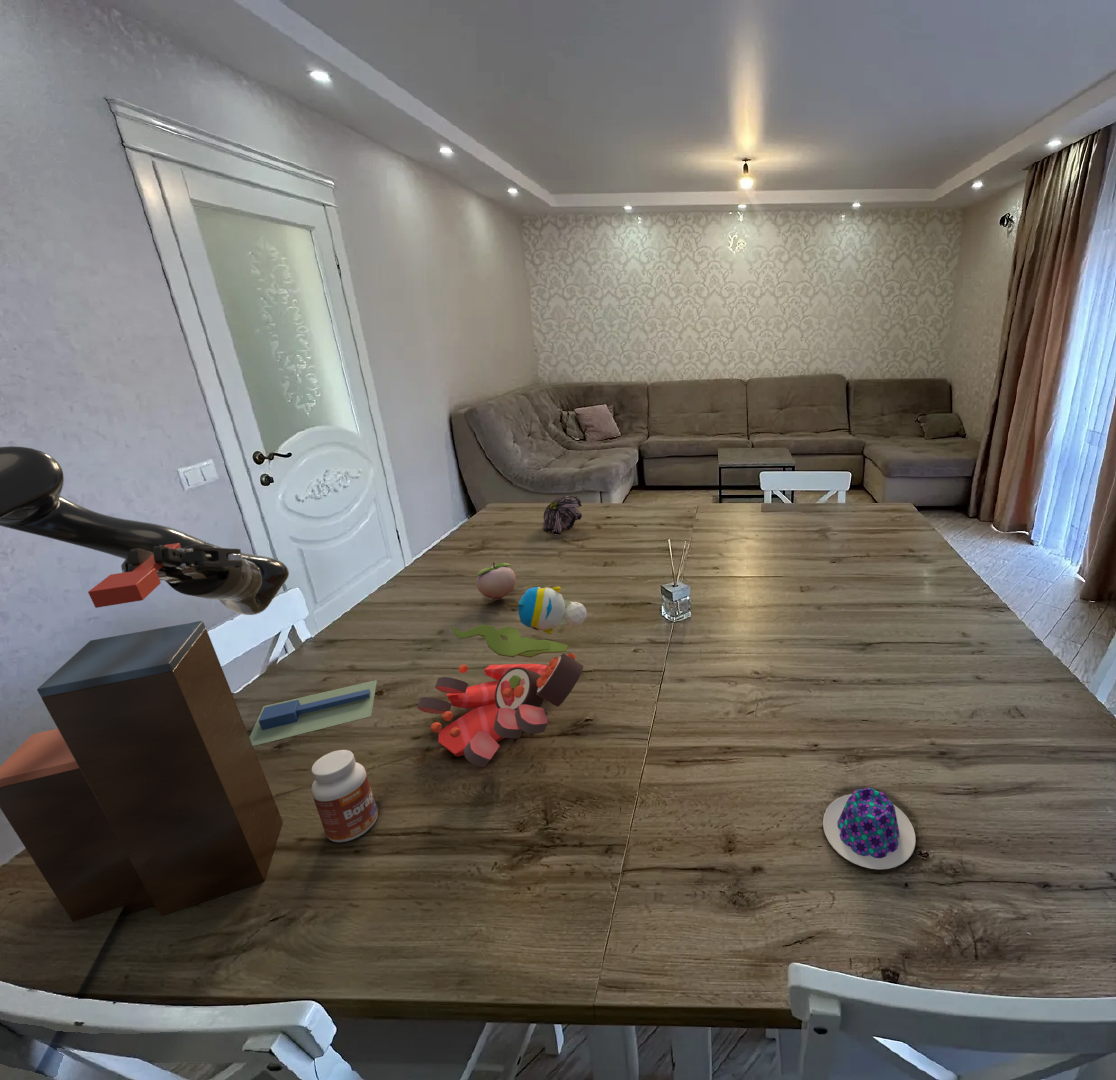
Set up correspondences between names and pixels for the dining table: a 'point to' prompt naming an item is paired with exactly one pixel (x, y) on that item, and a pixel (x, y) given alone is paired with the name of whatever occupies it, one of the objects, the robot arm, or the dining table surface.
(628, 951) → the dining table surface
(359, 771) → the pill bottle
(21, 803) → the wooden stand
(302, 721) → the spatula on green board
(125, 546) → the robot arm
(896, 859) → the pudding
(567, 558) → the dining table surface
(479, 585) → the decorative fruit
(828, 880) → the dining table surface
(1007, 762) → the dining table surface
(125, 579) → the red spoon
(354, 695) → the blue spatula
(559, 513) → the decorative flower
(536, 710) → the sushi set
